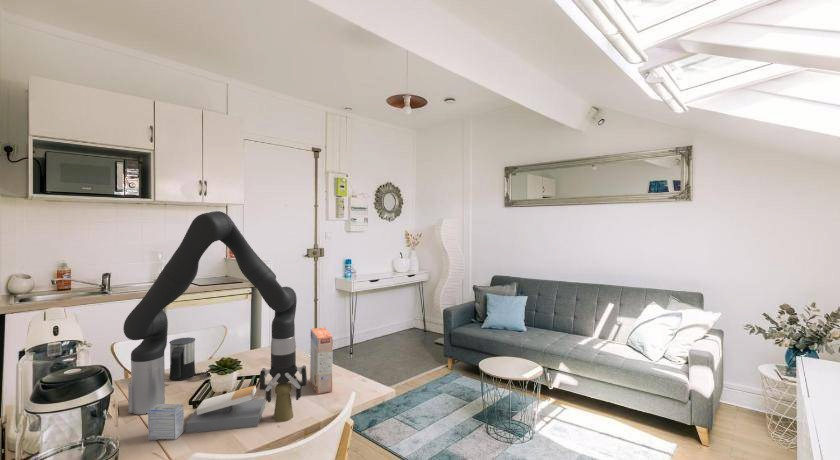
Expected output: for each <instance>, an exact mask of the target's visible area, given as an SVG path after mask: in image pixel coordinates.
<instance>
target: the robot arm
mask: <svg viewBox="0 0 840 460" xmlns="http://www.w3.org/2000/svg"><path fill="white" fill-rule="evenodd" d="M218 241H220V242H222V243H223V245H225V246H226V248H228V249H229V250H230V252H231V253H232V255H233V256H234V259H235V261H236V263H237V266H238V268H239V270H240V272H241V274H243V276H244V277H245V278H246V279H247V280H248V282H250V283H251V285H253V287H255V289H257V291H258V292H259V294H260V296H261V297H262V299H263V300H264V302H265V303H266V305H267V306H268V307H269V308H270V309H271V310H273V311H274V316H273V317H274V318H273V320H272V323H271V341H270V369H266V368H261V370H260V373H259V385H258V386H259V390H260V391H262V390H263V391H265V402H267V403H268V404H269V403H271V402H272V387H274V385H275V383H277V384H278V383H282V382H289V383H290V384H291V385H293V386H295V387H296V388H295V400H296V401H299V399H301V397H302V396H301V395H302V388H303V387H306V386H307V383H308V377H307V366H306V365H302V366H299V367H297V362H296V361H297V360H296V358H297V355H296V353H297V351H296V350H297V349H296V348H297V345H296V335H295V333H296V332H295V331H296V327H295V326H296V325H295V317H296V311H297V299H298V298H297V294H296V292H295V290H294V289H293V288H292V287H290V286H282V285H281V284H280V283H279V282H278V280H277V276H276V274H275V273H274V271H273V270H272V269H271V268H270V267H269V266H268V265H267V264H266V262H264V261H263V260H262V258H261V257H259V255H258V254H257V252H255V251H254V249H253V248H252V246H250V244H249V243H248V241H247V240H246V238H245V237H244V235H243V234H242V233H241V231H240V229H239V228H238V226H237V225H236V224H235V222H234V221H233V220H232V218H231V217H230V216H229V215H228V214H227V213H226V212H224V211H220V210H216V211H210V212H204V213H201V214H199V215H197V216H196V217H195V218H193V220H192V221H191V223H190V225H189V227H188V229H187V230H186V233H185V234H184V237H183V238H182V241H181V242H180V244H179V246H178V247H177V248H176V250H175V251H174V253H173V254H172V256H171V257H170V259H169V260H168V262H167V263H166V264H165V266H164V267H163V268H162V270H161V271H160V273H159V274H158V277H156V279H155V280H154V282H153V284H152V285H151V286H150V288H149V289H148V291H147V292H146V294H145V295H144V297H142V299H141V300H140V301H139V302H138V304H137V305H136V306H134V308H133V309H132V310H131V311H130V313H129V314H127V317H126V318H125V320H124V323H123V334H124V335H125V337H126V338H127V339H128V340H130V341H141V340H142V341H141V342H140V344H139V345H137V346H136V347H134V349H133V350H131V351H130V352H131V353H130V360H131V361H130V380H131V381H130V383H129V384H128V385H127V386H128V388H127V389H128V395H127V396H128V403H127V404H128V414H133V415H146V413H147V414H148V411H149V410H150V409H152V408H153V407H154V406H156V405H157V404H166V401H165V400H166V398H165V397H166V396H165V395H166V389H165V388H166V386H165V385H166V384H165V383H166V382H165V380H166V378H165V374H166V373H165V351H166V348H167V346H168V345H167V344H168V326H169V323H168V322H169V321H168V316H167V314H166V312H165V310H164V309H165V308H166V307H168V306H169V305H171V304H172V303H173V302H175V301H176V300H177V299H178V298H180V297H181V296H182V295H183V294H184V293H185V292H186V291H187V290H188V289H189V287H190V286H191V284H192V283H193V282H194V280H195V278H196V277H197V275H198V271H199V263H200V260H201V258H202V256H203V255H204V253H205V252H206V251H207V250H208V249H209V247H210V246H211V245H212V244H213V243H215V242H218ZM297 372H298V373H299V374H300V375H301V381H300V380H299V379H298V377H297V376H296V374H297ZM268 374H269V375H270V376H271V380H270V381H268V384H267V383H266V377H267V376H268Z"/></svg>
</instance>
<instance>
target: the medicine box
mask: <svg viewBox="0 0 840 460" xmlns="http://www.w3.org/2000/svg"><path fill="white" fill-rule="evenodd" d="M184 413H185V412H184V403H165V404H157V405H156V406H154V407H153V408H152V409H150V410H149V411H148V413H147V427H148V428H147V430H148V435H147V436H148V440H149V441H154V440H156V441H158V439H167V440H177V439H179V437H180V436H181V435H182V434H183V433H184V432H185V418H184V417H185V415H184Z"/></svg>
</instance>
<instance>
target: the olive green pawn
mask: <svg viewBox="0 0 840 460" xmlns="http://www.w3.org/2000/svg"><path fill="white" fill-rule="evenodd" d="M292 391H293V386H292V383H291V382H290V381H289V382H282V383H278V382H277V384H276V385H275V387H274V393H275V394H276V395H275V396H276V398H275V403H274V404H275V405H274V410H273V411H274V412H273V421H274V422H277V423H283V422H287V421H290V420H291V419H293V417H294V412H293V404H292V397H291V393H292Z"/></svg>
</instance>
